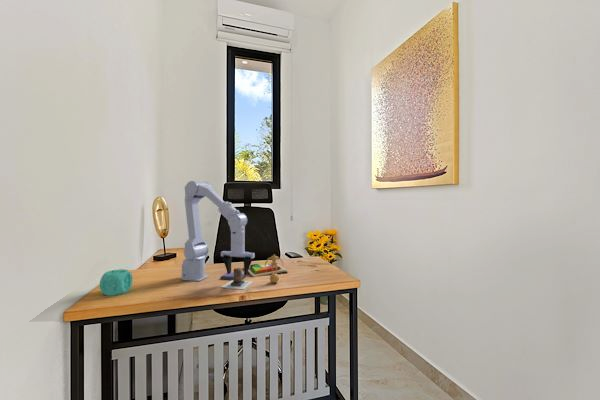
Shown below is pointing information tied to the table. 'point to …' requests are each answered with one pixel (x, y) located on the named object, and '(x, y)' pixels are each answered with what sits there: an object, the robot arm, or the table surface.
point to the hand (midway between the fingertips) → (237, 273)
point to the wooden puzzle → (264, 269)
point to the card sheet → (228, 285)
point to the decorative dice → (116, 282)
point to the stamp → (237, 277)
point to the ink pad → (231, 276)
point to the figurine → (275, 277)
